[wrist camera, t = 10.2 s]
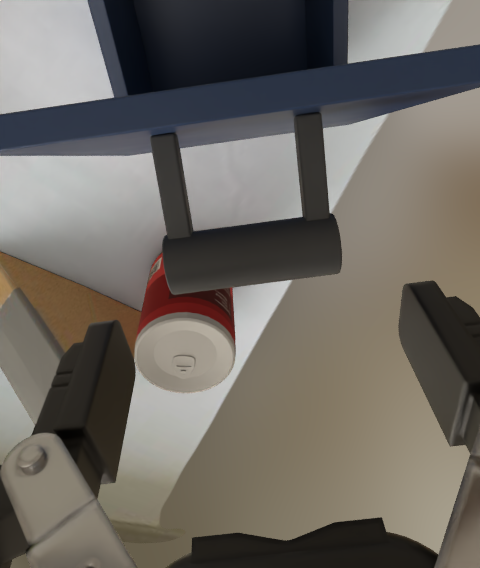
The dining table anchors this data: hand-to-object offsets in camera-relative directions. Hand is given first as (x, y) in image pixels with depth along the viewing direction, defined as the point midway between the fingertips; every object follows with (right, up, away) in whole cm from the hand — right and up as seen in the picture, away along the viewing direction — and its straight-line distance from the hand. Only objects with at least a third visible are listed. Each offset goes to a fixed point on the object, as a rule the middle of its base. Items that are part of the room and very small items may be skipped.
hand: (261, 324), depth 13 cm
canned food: (-5, +2, +30) cm, 30 cm away
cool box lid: (-1, +8, +5) cm, 9 cm away
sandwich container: (-19, -1, +32) cm, 37 cm away
